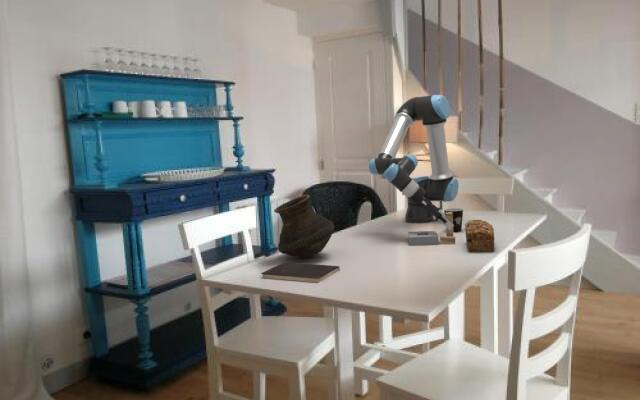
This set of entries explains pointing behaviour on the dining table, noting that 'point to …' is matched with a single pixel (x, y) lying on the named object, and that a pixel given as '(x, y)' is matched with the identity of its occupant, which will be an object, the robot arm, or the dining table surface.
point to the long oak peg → (450, 217)
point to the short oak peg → (447, 240)
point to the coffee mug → (456, 218)
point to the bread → (479, 236)
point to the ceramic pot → (302, 229)
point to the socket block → (423, 238)
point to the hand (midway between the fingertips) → (450, 224)
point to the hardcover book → (301, 272)
